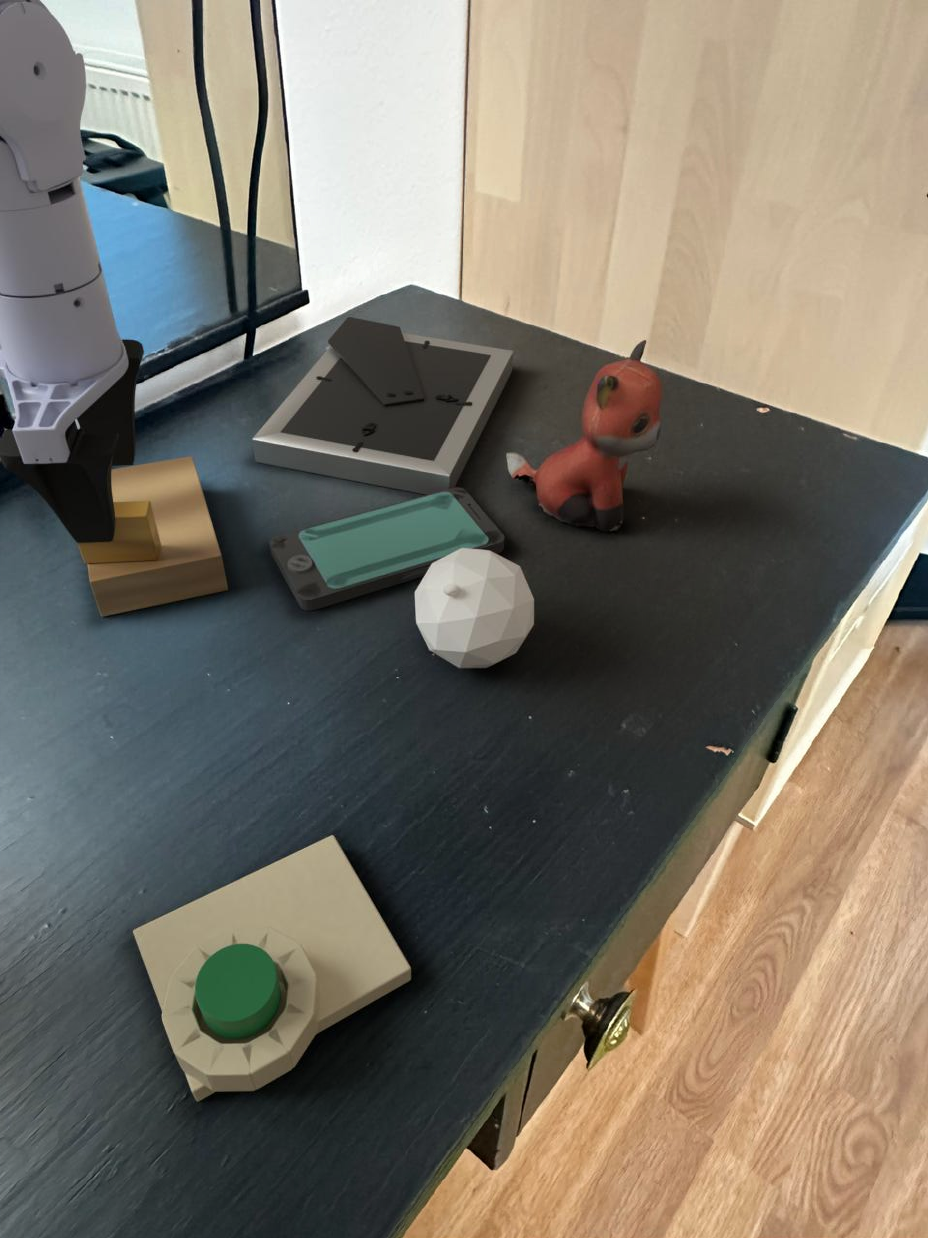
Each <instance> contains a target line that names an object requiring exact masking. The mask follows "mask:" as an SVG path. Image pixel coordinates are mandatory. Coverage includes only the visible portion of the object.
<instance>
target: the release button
mask: <svg viewBox="0 0 928 1238" xmlns="http://www.w3.org/2000/svg"><path fill="white" fill-rule="evenodd" d="M195 995H196V1000H197V1003H198V1005H199V1008H200V1010H201V1013H202V1015H203V1018H204V1020H205V1022H206V1024H207V1026H208V1027H209V1028H210V1029H211V1030H212V1031H213V1032H214V1033H215V1034H217V1035H218V1036H220V1037H223V1038H226V1039H234V1040H237V1039H244V1038H248V1037H251V1036H253V1035H255V1034H257V1033H259V1032H260V1031H262V1030H263V1029H264V1028H265V1027H267V1026H268V1024H269V1023H270V1022H271V1021H272V1020H273V1018H274V1017H275V1015H276V1013H277V1011H278V1009H279V1006H280V1001H281V988H280V983H279V979H278V975H277V971H276V967H275V964H274V962H273V960H272V958H271V957H270V956H269V954H268V953H267V952H266V951H264V950H263V949H261V948H259V947H257V946H254V945H251V944H234V945H230V946H227V947H224V948H222V949H220V950H219V951H217V952H216V953H214V954H213V955H212V956H211V957H209V958H208V960H207V961H206V962H205V963H204V964H203V966H202V967H201V969H200V971H199V973H198V976H197V979H196V983H195Z"/></svg>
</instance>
